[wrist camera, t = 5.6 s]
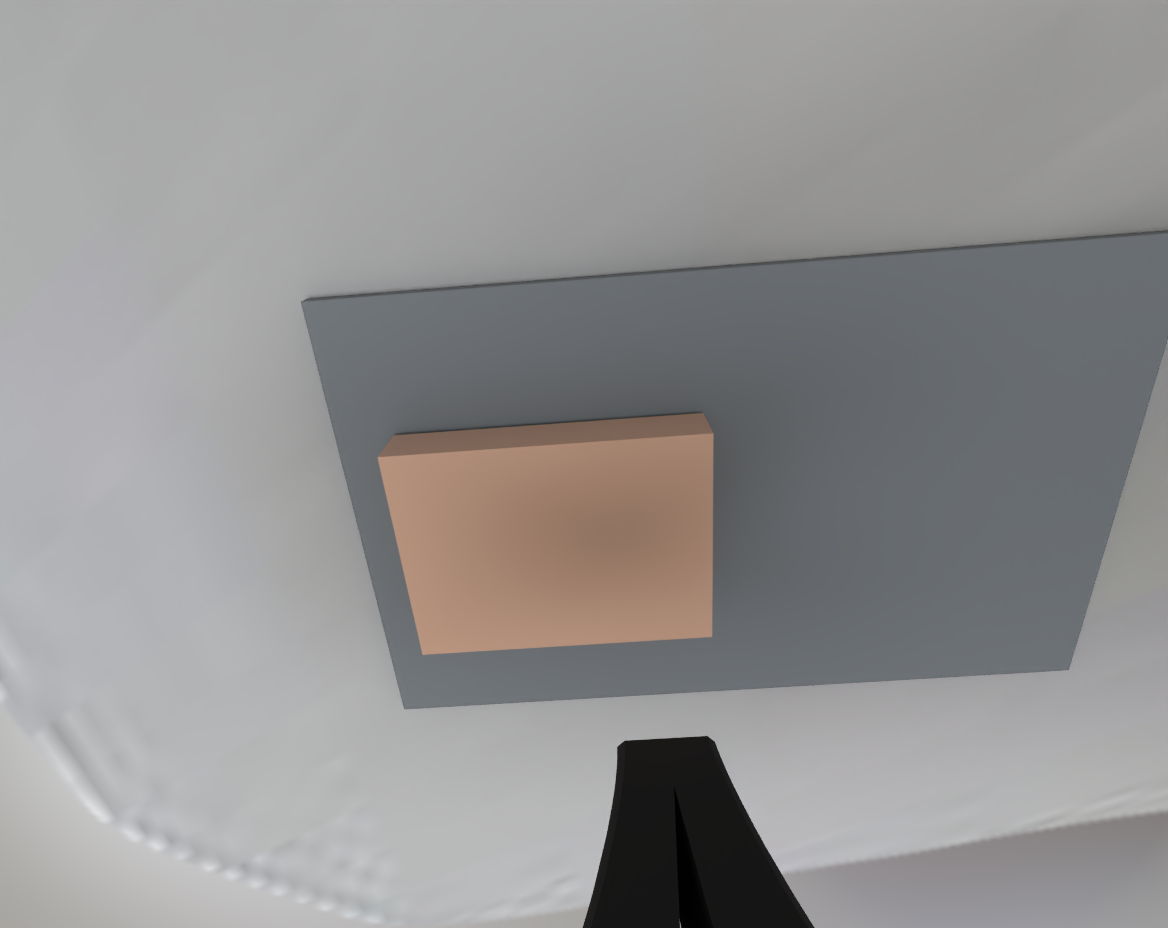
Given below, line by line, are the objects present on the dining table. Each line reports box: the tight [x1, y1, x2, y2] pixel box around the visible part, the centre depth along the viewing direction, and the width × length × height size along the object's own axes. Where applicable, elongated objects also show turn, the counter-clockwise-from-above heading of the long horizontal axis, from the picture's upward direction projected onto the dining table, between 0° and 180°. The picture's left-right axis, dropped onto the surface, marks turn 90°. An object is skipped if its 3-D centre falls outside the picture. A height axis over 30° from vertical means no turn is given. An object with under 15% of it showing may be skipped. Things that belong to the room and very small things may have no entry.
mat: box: [301, 231, 1168, 709], centre depth 18 cm, size 21×13×1 cm, turn 94°
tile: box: [377, 413, 714, 655], centre depth 17 cm, size 2×6×8 cm
